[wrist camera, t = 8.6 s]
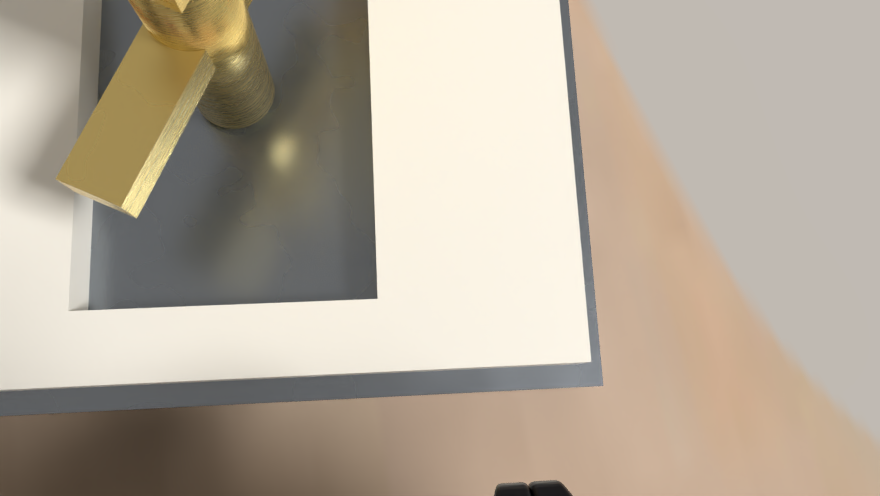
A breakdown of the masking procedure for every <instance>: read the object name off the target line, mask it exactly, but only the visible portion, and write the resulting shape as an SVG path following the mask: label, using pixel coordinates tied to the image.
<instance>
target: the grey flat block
mask: <svg viewBox="0 0 880 496" xmlns="http://www.w3.org/2000/svg"><path fill="white" fill-rule="evenodd" d="M559 2H560V13H561V24H562V36H563V47H564V58H565V69H566V81H567V92H568V103H569V115H570V126H571V137H572V149H573V160H574V171H575V182H576V194H577V205H578V216H579V228H580V239H581V250H582V261H583V273H584V284H585V295H586V307H587V318H588V329H589V341H590V352H591V362H588V363H582V364H570V365H548V366H527V367H506V368H485V369H464V370H443V371H422V372H401V373H380V374H359V375H338V376H317V377H296V378H275V379H254V380H233V381H212V382H191V383H170V384H149V385H128V386H107V387H86V388H65V389H44V390H23V391H2V392H0V416H13V415H33V414H53V413H73V412H93V411H113V410H133V409H153V408H173V407H193V406H213V405H233V404H253V403H272V402H292V401H312V400H332V399H352V398H372V397H392V396H412V395H432V394H452V393H472V392H492V391H512V390H532V389H552V388H572V387H591V386H603V378H602V367H601V356H600V345H599V334H598V323H597V312H596V301H595V290H594V279H593V268H592V257H591V246H590V236H589V225H588V214H587V203H586V192H585V181H584V170H583V159H582V148H581V137H580V126H579V115H578V104H577V93H576V82H575V71H574V60H573V49H572V38H571V27H570V16H569V5H568V0H559ZM248 11H249V14H250V17H251V20H252V23H253V26H254V28H255V31H256V34H257V37H258V40H259V42H260V45H261V48H262V51H263V54H264V57H265V59H266V62H267V65H268V68H269V71H270V74H271V76H272V79H273V82H274V88H275V93H274V99H273V103H272V105H271V107H270V109H269V111H268V112H267V113H266V115H265V116H264V117H263V118H262V119H260V120H259V121H258V122H256V123H254V124H252V125H250V126H247V127H244V128H238V129H229V128H223V127H220V126H217V125H215V124H213V123H211V122H210V121H209V120H207V119H206V118H205V117H204V116H203V115H202V114H201V112H200V111H199V109H198V107H197V106H196V108H195V110H194V112H193V114H192V115H191V117H190V119H189V121H188V123H187V125H186V127H185V129H184V130H183V132H182V134H181V136H180V138H179V140H178V142H177V144H176V146H175V147H174V149H173V151H172V153H171V155H170V157H169V159H168V161H167V162H166V164H165V166H164V168H163V170H162V172H161V174H160V176H159V178H158V179H157V181H156V183H155V185H154V187H153V189H152V191H151V193H150V195H149V196H148V198H147V200H146V202H145V204H144V206H143V208H142V210H141V211H140V213H139V215H138V217H137V218H134V217H132V216H130V215H127V214H125V213H123V212H120V211H118V210H116V209H113V208H111V207H109V206H106V205H104V204H102V203H99V202H97V201H95V200H93V214H92V236H91V259H90V281H89V304H88V310H108V309H133V308H159V307H184V306H209V305H235V304H260V303H285V302H311V301H336V300H362V299H378V296H377V265H376V235H375V205H374V174H373V144H372V113H371V83H370V53H369V22H368V0H252V2H251V4H250V6H249V8H248ZM142 24H143V23H142V21H141V19H140V18H139V16H138V15H137V13H136V12H135V10H134V9H133V7H132V6H131V4H130V2H129V1H128V0H102V11H101V33H100V56H99V78H98V101H97V104H98V102H99V101H100V99H101V97H102V95H103V94H104V92H105V90H106V88H107V86H108V85H109V83H110V81H111V79H112V78H113V76H114V74H115V72H116V70H117V69H118V67H119V65H120V63H121V62H122V60H123V58H124V56H125V55H126V53H127V51H128V49H129V47H130V46H131V44H132V42H133V40H134V39H135V37H136V35H137V33H138V31H139V30H140V28H141V26H142Z"/></svg>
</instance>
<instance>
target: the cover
mask: <svg viewBox="0 0 880 496" xmlns="http://www.w3.org/2000/svg"><path fill="white" fill-rule="evenodd" d="M101 11H102V0H0V392H2V391H23V390H44V389H65V388H86V387H107V386H128V385H149V384H170V383H191V382H212V381H233V380H254V379H275V378H296V377H317V376H338V375H359V374H380V373H401V372H422V371H443V370H464V369H485V368H506V367H527V366H548V365H570V364H582V363H588V362H591V352H590V341H589V329H588V318H587V307H586V295H585V284H584V273H583V261H582V250H581V239H580V228H579V216H578V205H577V194H576V182H575V171H574V160H573V149H572V137H571V126H570V115H569V103H568V92H567V81H566V69H565V58H564V47H563V36H562V24H561V13H560V2H559V0H368V22H369V53H370V83H371V113H372V144H373V174H374V205H375V235H376V265H377V296H378V299H362V300H336V301H311V302H285V303H260V304H235V305H209V306H184V307H159V308H133V309H108V310H88V304H89V281H90V259H91V236H92V214H93V200H92V199H90V198H88V197H85V196H83V195H81V194H78V193H76V192H74V191H73V190H71V189H70V188H68V187H66V186H65V185H63V184H62V183H60V182H59V181H57V180H56V177H57V175H58V173H59V171H60V170H61V168H62V166H63V164H64V163H65V161H66V159H67V157H68V156H69V154H70V152H71V150H72V148H73V147H74V145H75V143H76V141H77V140H78V138H79V136H80V134H81V133H82V131H83V129H84V127H85V125H86V124H87V122H88V120H89V118H90V117H91V115H92V113H93V111H94V109H95V108H96V106H97V101H98V78H99V56H100V33H101Z"/></svg>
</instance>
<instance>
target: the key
mask: <svg viewBox="0 0 880 496" xmlns="http://www.w3.org/2000/svg"><path fill="white" fill-rule="evenodd" d="M128 1H129V2H130V4H131V6H132V7H133V9H134V10H135V12H136V13H137V15H138V16H139V18H140V19H141V21H142V23H143V24H142V26H141V28H140V30H139V31H138V33H137V35H136V37H135V39H134V40H133V42H132V44H131V46H130V47H129V49H128V51H127V53H126V55H125V56H124V58H123V60H122V62H121V63H120V65H119V67H118V69H117V70H116V72H115V74H114V76H113V78H112V79H111V81H110V83H109V85H108V86H107V88H106V90H105V92H104V94H103V95H102V97H101V99H100V101H99V102H98V104H97V106H96V108H95V109H94V111H93V113H92V115H91V117H90V118H89V120H88V122H87V124H86V125H85V127H84V129H83V131H82V133H81V134H80V136H79V138H78V140H77V141H76V143H75V145H74V147H73V148H72V150H71V152H70V154H69V156H68V157H67V159H66V161H65V163H64V164H63V166H62V168H61V170H60V171H59V173H58V175H57V177H56V180H57V181H59V182H60V183H62V184H63V185H65V186H66V187H68V188H70V189H71V190H73V191H74V192H76V193H78V194H81V195H83V196H85V197H88V198H90V199H92V200H95V201H97V202H99V203H102V204H104V205H106V206H109V207H111V208H113V209H116V210H118V211H120V212H123V213H125V214H127V215H130V216H132V217H134V218H137V217H138V215H139V213H140V211H141V210H142V208H143V206H144V204H145V202H146V200H147V198H148V196H149V195H150V193H151V191H152V189H153V187H154V185H155V183H156V181H157V179H158V178H159V176H160V174H161V172H162V170H163V168H164V166H165V164H166V162H167V161H168V159H169V157H170V155H171V153H172V151H173V149H174V147H175V146H176V144H177V142H178V140H179V138H180V136H181V134H182V132H183V130H184V129H185V127H186V125H187V123H188V121H189V119H190V117H191V115H192V114H193V112H194V110H195V108H196V106H197V107H198V109H199V111H200V112H201V114H202V115H203V116H204V117H205V118H206V119H207V120H209V121H210V122H211V123H213V124H215V125H217V126H220V127H223V128H229V129H238V128H244V127H247V126H250V125H252V124H254V123H256V122H258V121H259V120H260V119H262V118H263V117H264V116H265V115H266V113H267V112H268V111H269V109H270V107H271V105H272V103H273V99H274V93H275V88H274V82H273V79H272V76H271V74H270V71H269V68H268V65H267V62H266V59H265V57H264V54H263V51H262V48H261V45H260V42H259V40H258V37H257V34H256V31H255V28H254V26H253V23H252V20H251V17H250V14H249V11H248V8H249V6H250V4H251V2H252V0H128Z"/></svg>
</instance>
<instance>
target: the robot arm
mask: <svg viewBox="0 0 880 496" xmlns="http://www.w3.org/2000/svg"><path fill="white" fill-rule="evenodd" d="M494 496H572V494H571V493H570V492H569V491H568V489H567V488H566V487H565V486H564V485H563V484H562V483H561V482H559V481H556V480H550V481H534V482H531V483H530V484H529V486H528V485H527V484H526V483H523V482H519V483H503V484H499V485H497V487H496V489H495V494H494Z"/></svg>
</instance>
